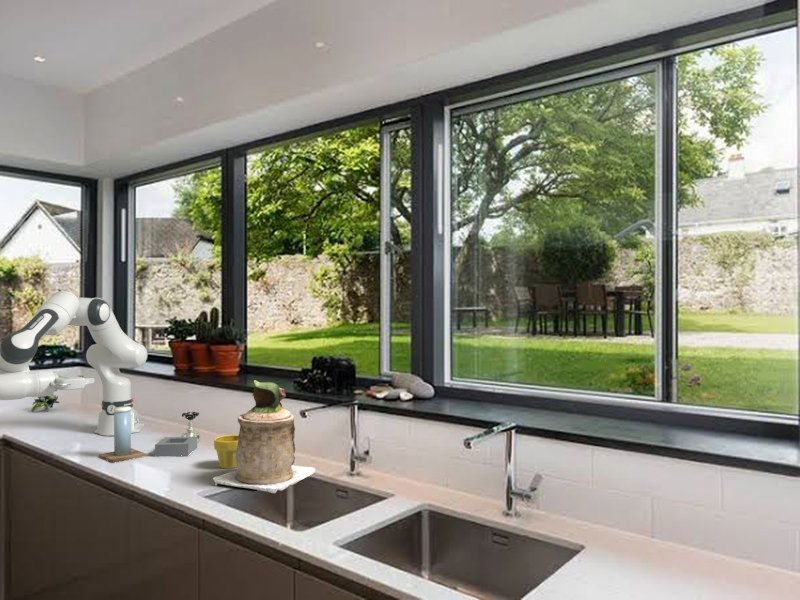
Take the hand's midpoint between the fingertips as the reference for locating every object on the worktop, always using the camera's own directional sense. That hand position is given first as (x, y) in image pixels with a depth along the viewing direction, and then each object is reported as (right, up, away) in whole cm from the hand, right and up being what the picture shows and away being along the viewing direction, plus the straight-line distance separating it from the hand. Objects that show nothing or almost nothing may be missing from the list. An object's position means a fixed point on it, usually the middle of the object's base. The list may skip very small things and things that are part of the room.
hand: (88, 378), depth 212 cm
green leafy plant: (-73, -30, +99) cm, 127 cm away
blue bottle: (+8, -29, +9) cm, 31 cm away
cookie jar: (+67, -30, -18) cm, 75 cm away
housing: (+26, -30, +15) cm, 42 cm away
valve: (+26, -30, +30) cm, 50 cm away
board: (+8, -30, +9) cm, 32 cm away
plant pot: (+51, -30, -3) cm, 59 cm away
